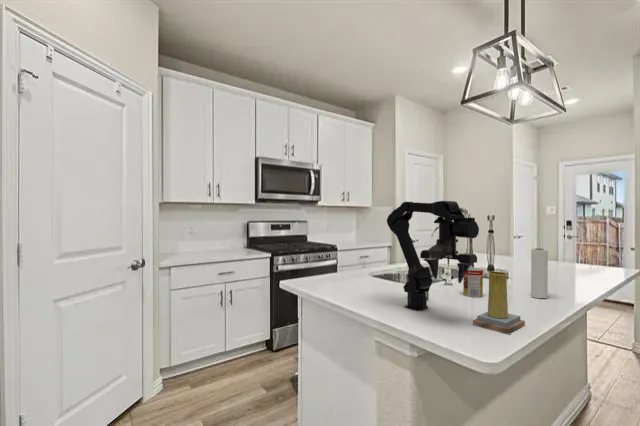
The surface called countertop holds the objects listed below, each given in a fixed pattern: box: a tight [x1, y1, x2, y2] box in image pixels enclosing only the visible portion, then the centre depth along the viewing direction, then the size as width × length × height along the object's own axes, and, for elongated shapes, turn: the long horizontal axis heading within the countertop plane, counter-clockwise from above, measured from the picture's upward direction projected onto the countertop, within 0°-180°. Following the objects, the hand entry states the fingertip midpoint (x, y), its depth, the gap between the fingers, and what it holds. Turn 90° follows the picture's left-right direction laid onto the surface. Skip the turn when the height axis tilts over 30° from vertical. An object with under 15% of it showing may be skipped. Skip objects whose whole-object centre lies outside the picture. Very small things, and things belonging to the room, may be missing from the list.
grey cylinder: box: [530, 247, 549, 299], centre depth 149 cm, size 7×6×21 cm
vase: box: [487, 271, 509, 319], centre depth 111 cm, size 6×6×14 cm
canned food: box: [462, 266, 484, 299], centre depth 152 cm, size 8×8×12 cm
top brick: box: [476, 311, 521, 328], centre depth 112 cm, size 9×11×2 cm
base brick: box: [472, 318, 526, 335], centre depth 112 cm, size 11×13×2 cm
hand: (447, 280), depth 119 cm, fingers open, 9 cm apart
